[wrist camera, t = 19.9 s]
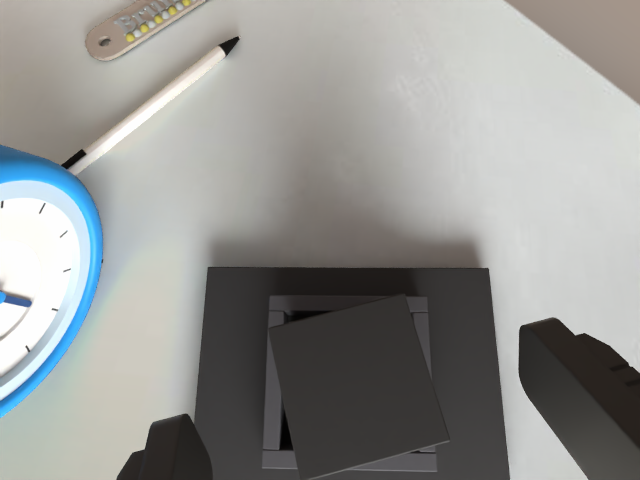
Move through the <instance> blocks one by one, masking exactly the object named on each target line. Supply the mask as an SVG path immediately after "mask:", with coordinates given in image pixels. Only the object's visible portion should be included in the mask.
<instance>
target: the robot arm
mask: <svg viewBox="0 0 640 480" xmlns="http://www.w3.org/2000/svg"><path fill="white" fill-rule="evenodd" d="M519 377H520V381H521V384H522V387H523V389H524V391H525V393H526V395H527V396H528V398H529V399H530V401H531V402H532V403H533V405H534V406H535V407H536V409H537V410H538V411H539V413H540V414H541V415H542V417H543V418H544V420H545V421H546V422H547V424H548V425H549V426H550V428H551V429H552V430H553V432H554V433H555V434H556V436H557V437H558V438H559V440H560V441H561V443H562V444H563V445H564V447H565V448H566V449H567V451H568V452H569V453H570V455H571V456H572V457H573V459H574V460H575V462H576V463H577V464H578V466H579V467H580V468H581V470H582V471H583V472H584V474H585V475H586V476H587V478H588V479H589V480H640V373H639V372H638V371H637V370H635V369H634V368H633V367H630V366H629V364H628V362H627V361H626V360H625V359H623V358H622V357H621V356H620V355H619V354H618V353H617V352H616V351H615V350H614V349H612V348H611V347H610V346H609V345H607V344H605V343H603V342H601V341H599V340H597V339H595V338H593V337H591V336H589V335H587V334H585V333H583V334H579V335H576V336H575V335H574V334H573V333H572V332H571V331H570V330H569V329H568V328H567V327H566V326H565V325H564V324H563V323H562V322H561V321H560V320H558V319H557V318H553V317H552V318H548V319H545V320H541V321H537V322H533V323H529V324H526V325H522V326H521V327H520V330H519ZM117 480H213V471H212V464H211V460H210V456H209V454H208V452H207V450H206V448H205V446H204V444H203V442H202V440H201V438H200V436H199V434H198V432H197V430H196V428H195V426H194V424H193V422H192V420H191V418H190V416H189V415H188V414H182V415H178V416H175V417H171V418H167V419H163V420H159V421H156V422H153V423H152V425H151V427H150V430H149V434H148V438H147V442H146V447H145V450H141V451H137V452H134V453H132V454H131V456H130V457H129V459H128V461H127V462H126V464H125V465H124V467H123V469H122V470H121V472H120V473H119V475H118V476H117Z"/></svg>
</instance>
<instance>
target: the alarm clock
mask: <svg viewBox="0 0 640 480" xmlns="http://www.w3.org/2000/svg"><path fill="white" fill-rule="evenodd" d="M102 254H103V235H102V226H101V221H100V217H99V213H98V210H97V208H96V205H95V203H94V201H93V199H92V197H91V195H90V193H89V192H88V190H87V189H86V188H85V186H84V185H83V184H82V182H81V181H80V180H79V179H78V178H77V177H76V176H75V175H73V174H72V173H71V172H70V171H68V170H67V169H65V168H64V167H62V166H60V165H59V164H57V163H54V162H52V161H50V160H48V159H45V158H42V157H39V156H35V155H32V154H29V153H26V152H22V151H19V150H16V149H13V148H9V147H6V146H3V145H0V418H1V417H2V416H4V415H5V414H6V413H7V412H9V411H10V410H11V409H13V408H14V407H15V406H16V405H17V404H19V403H20V402H21V401H22V400H23V399H24V398H26V397H27V396H28V395H29V394H30V393H31V392H32V391H33V390H34V389H35V388H36V387H37V386H38V385H39V384H40V383H41V382H42V380H43V379H44V378H45V377H46V376H47V375H48V374H49V373H50V371H51V370H52V369H53V368H54V367H55V365H56V364H57V363H58V361H59V360H60V359H61V357H62V356H63V355H64V353H65V352H66V350H67V349H68V347H69V346H70V344H71V343H72V341H73V339H74V338H75V336H76V334H77V332H78V331H79V329H80V327H81V325H82V323H83V321H84V319H85V317H86V315H87V312H88V310H89V308H90V305H91V302H92V300H93V297H94V294H95V291H96V288H97V284H98V280H99V275H100V270H101V264H102V263H103V259H102Z"/></svg>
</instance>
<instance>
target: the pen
mask: <svg viewBox="0 0 640 480" xmlns="http://www.w3.org/2000/svg"><path fill="white" fill-rule="evenodd" d="M239 38H241V36H237V37H235V38H233V39H230V40H228V41H226V42H224V43H222V44H220V45H217V46H216V47H215V48H214V49H212V50H211V51H210V52H208V53H207V54H206V55H205V56H203V57H202V58H201V59H200V60H198V61H197V62H196V63H194V64H193V65H192V66H191V67H189V68H188V69H187V70H185V71H184V72H183V73H182V74H180V75H179V76H178V77H177V78H175V79H174V80H173V81H171V82H170V83H169V84H168V85H166V86H165V87H164V88H163V89H161V90H160V91H159V92H157V93H156V94H155V95H154V96H152V97H151V98H150V99H148V100H147V101H146V102H145V103H143V104H142V105H141V106H140V107H138V108H137V109H136V110H134V111H133V112H132V113H131V114H129V115H128V116H127V117H126V118H124V119H123V120H122V121H120V122H119V123H118V124H117V125H115V126H114V127H113V128H111V129H110V130H109V131H108V132H106V133H105V134H104V135H103V136H101V137H100V138H99V139H97V140H96V141H95V142H94V143H92V144H91V145H90V146H89V147H87V148H86V149H85V150H83V149H81V150H80V151H79V152H77V153H76V154H75V155H74V156H72V157H71V158H70V159H69V160H67V161H66V162H65V163H63V164H62V165H61V166H62V167H64V168H65V169H67V170H68V171H70V172H71V173H72V174H73V175H75V176H76V175H77V174H79V173H80V172H81V171H82V170H84V169H85V168H86V167H87V166H89V165H90V164H91V163H92V162H94V161H95V160H96V159H97V158H99V157H100V156H101V155H102V154H104V153H105V152H106V151H108V150H109V149H110V148H111V147H113V146H114V145H115V144H116V143H118V142H119V141H120V140H121V139H123V138H124V137H125V136H126V135H128V134H129V133H130V132H131V131H133V130H134V129H135V128H137V127H138V126H139V125H140V124H142V123H143V122H144V121H145V120H147V119H148V118H149V117H150V116H152V115H153V114H154V113H155V112H157V111H158V110H159V109H160V108H162V107H163V106H164V105H165V104H167V103H168V102H169V101H171V100H172V99H173V98H174V97H176V96H177V95H178V94H179V93H181V92H182V91H183V90H184V89H186V88H187V87H188V86H189V85H191V84H192V83H193V82H194V81H196V80H197V79H198V78H200V77H201V76H202V75H203V74H205V73H206V72H207V71H208V70H210V69H211V68H212V67H213V66H215V65H216V64H217V63H218V62H220V61H221V60H222V59H223V58H225V57H226V56H227V55H228V53H229V52H230V51H231V49H232V48H233V47H234V46H235V44H236V43H237V42H238V41H239Z"/></svg>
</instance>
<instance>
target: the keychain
mask: <svg viewBox="0 0 640 480" xmlns="http://www.w3.org/2000/svg"><path fill="white" fill-rule="evenodd" d="M205 1H206V0H138V1H136V2H135V3H133V4H131V5H130V6H128V7H127V8H125V9H123V10H122V11H120V12H119V13H117V14H115V15H114V16H112V17H110V18H109V19H107V20H106V21H104V22H102V23H101V24H99V25H98V26H96V27H95V28H93V29H92V30H91V31H90V32H89V34H88V35H87V37H86V41H85V45H86V48H87V50H88V52H89V53H90V55H92V56H93V57H94V58H96V59H98V60H105V61H107V60H112V59H115V58H117V57H119V56H121V55H122V54H124V53H125V52H127V51H128V50H130V49H131V48H133V47H135V46H136V45H138V44H139V43H141V42H142V41H144V40H146V39H147V38H149V37H150V36H152V35H153V34H155V33H156V32H158V31H160V30H161V29H163V28H164V27H166V26H167V25H169V24H170V23H172V22H174V21H175V20H177V19H178V18H180V17H181V16H183V15H185V14H186V13H188V12H189V11H191V10H192V9H194V8H195V7H197V6H199V5H200V4H202V3H203V2H205ZM105 39H110V40H111V41H110V43H109V44H108V45H107V46H100V44H101V42H102V41H103V40H105Z"/></svg>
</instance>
